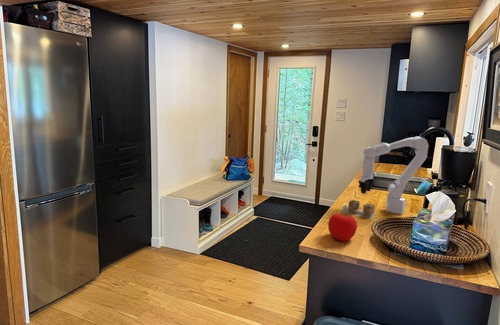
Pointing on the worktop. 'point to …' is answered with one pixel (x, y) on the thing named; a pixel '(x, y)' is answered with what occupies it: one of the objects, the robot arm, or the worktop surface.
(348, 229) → the red apple
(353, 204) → the brown notched block
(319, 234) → the worktop surface
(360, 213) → the rail
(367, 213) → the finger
